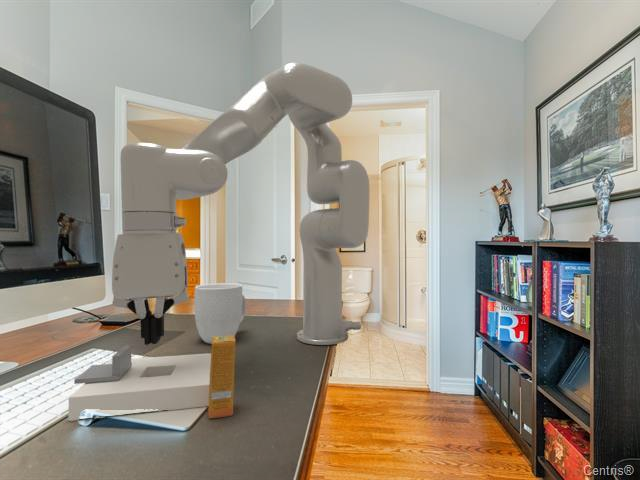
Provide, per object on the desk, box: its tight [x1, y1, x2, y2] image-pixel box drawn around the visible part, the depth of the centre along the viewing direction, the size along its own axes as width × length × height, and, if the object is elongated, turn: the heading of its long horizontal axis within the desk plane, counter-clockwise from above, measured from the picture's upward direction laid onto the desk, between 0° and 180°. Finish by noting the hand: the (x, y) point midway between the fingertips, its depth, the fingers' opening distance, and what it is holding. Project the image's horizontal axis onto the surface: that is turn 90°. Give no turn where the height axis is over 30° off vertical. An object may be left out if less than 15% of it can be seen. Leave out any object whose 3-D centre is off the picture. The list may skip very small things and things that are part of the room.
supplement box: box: [207, 335, 237, 419], centre depth 44 cm, size 3×3×10 cm
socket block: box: [67, 352, 211, 422], centre depth 50 cm, size 18×14×3 cm
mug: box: [193, 282, 247, 345], centre depth 79 cm, size 15×11×13 cm
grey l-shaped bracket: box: [73, 345, 132, 385], centre depth 49 cm, size 6×6×3 cm
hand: (153, 341), depth 51 cm, fingers closed
